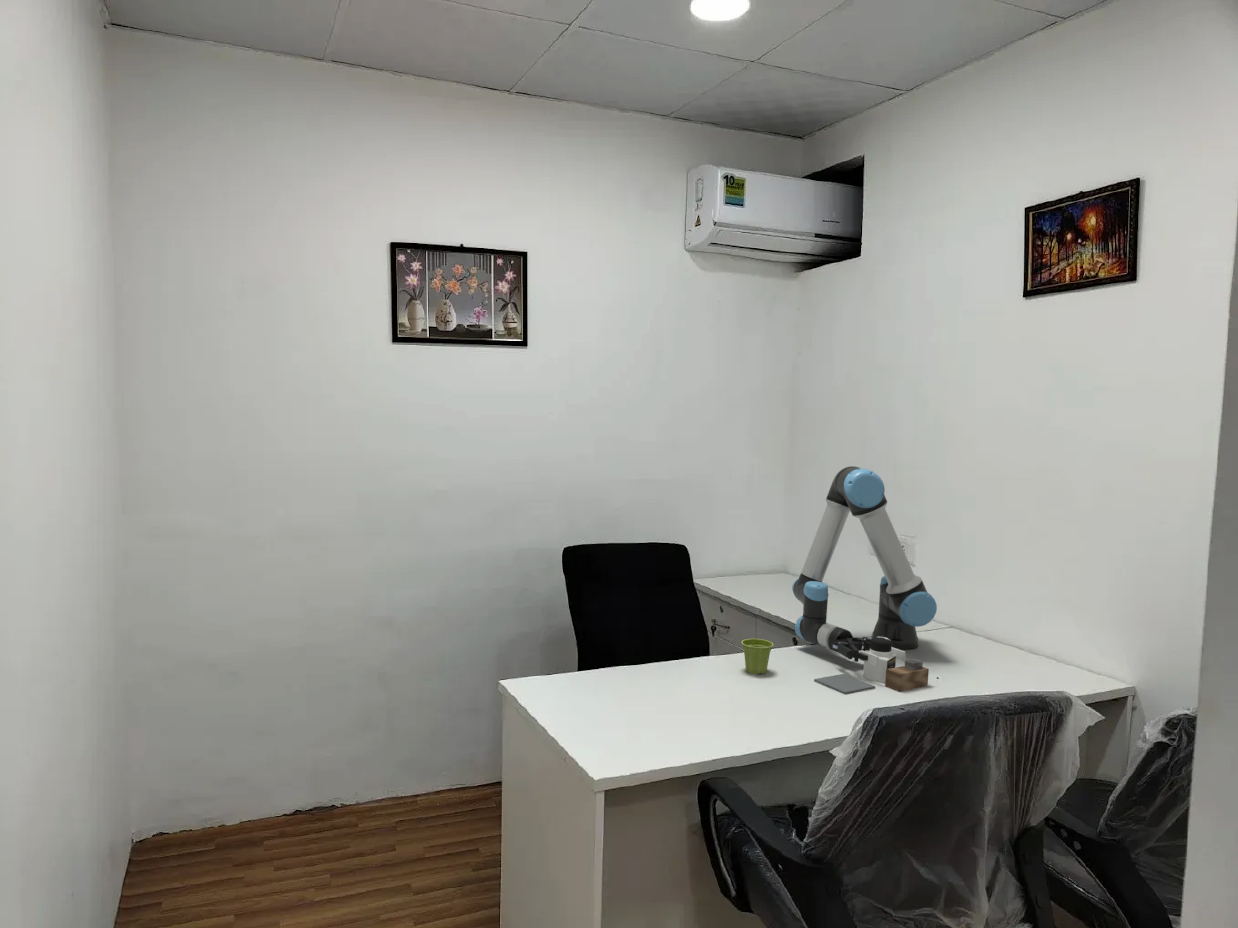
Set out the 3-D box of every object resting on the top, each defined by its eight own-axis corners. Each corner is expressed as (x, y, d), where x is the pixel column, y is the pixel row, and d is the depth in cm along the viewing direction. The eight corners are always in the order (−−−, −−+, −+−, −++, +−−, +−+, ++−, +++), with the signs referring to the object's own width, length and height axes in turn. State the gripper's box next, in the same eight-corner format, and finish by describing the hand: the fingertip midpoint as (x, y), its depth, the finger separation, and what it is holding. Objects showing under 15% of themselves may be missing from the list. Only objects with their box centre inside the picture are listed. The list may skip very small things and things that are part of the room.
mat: (844, 675, 249) (844, 673, 249) (875, 688, 239) (875, 686, 238) (814, 681, 243) (814, 679, 243) (844, 694, 232) (844, 692, 232)
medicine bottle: (886, 683, 243) (889, 643, 242) (862, 678, 247) (864, 638, 246) (894, 677, 248) (897, 638, 248) (871, 672, 253) (873, 633, 252)
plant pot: (735, 672, 248) (736, 643, 247) (746, 664, 256) (747, 636, 255) (766, 678, 243) (767, 649, 243) (775, 670, 252) (777, 641, 251)
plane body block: (913, 680, 247) (915, 657, 246) (927, 685, 242) (929, 662, 242) (885, 686, 241) (886, 662, 240) (898, 691, 236) (900, 667, 236)
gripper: (861, 646, 269) (917, 666, 250) (807, 654, 257) (862, 676, 238) (862, 623, 268) (918, 641, 249) (809, 630, 257) (863, 650, 238)
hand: (891, 658), depth 244 cm, fingers open, 10 cm apart
